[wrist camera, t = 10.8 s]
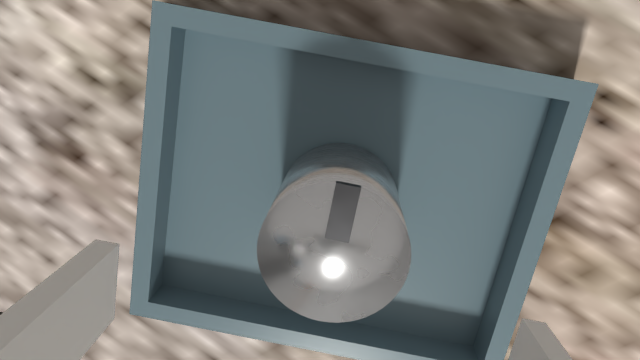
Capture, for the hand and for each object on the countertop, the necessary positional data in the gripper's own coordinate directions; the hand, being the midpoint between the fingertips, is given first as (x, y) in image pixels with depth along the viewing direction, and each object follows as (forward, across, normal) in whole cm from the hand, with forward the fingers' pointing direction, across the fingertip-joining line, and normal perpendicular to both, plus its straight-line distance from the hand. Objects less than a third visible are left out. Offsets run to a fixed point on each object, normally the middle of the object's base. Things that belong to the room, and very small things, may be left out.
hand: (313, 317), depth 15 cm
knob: (+12, +1, 0) cm, 12 cm away
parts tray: (+12, +1, 0) cm, 12 cm away
